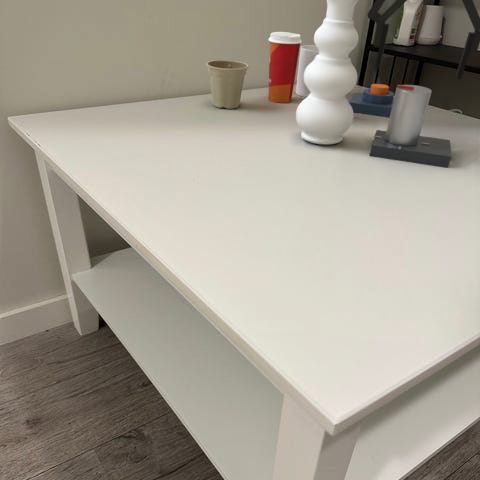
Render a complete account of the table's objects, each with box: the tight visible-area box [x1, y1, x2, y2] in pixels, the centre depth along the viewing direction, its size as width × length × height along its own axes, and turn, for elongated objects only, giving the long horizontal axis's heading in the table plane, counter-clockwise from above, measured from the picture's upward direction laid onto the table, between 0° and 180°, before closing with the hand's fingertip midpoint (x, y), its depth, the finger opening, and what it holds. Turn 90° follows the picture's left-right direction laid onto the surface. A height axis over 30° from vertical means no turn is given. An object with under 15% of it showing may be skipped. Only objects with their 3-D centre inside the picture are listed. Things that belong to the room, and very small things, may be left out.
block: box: [348, 88, 395, 119], centre depth 113 cm, size 12×10×4 cm
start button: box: [370, 83, 390, 95], centre depth 111 cm, size 4×4×2 cm
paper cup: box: [267, 31, 303, 104], centre depth 113 cm, size 8×8×14 cm
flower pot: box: [205, 59, 250, 110], centre depth 108 cm, size 9×9×9 cm
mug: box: [295, 44, 319, 98], centre depth 120 cm, size 12×8×10 cm, turn 86°
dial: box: [385, 84, 433, 146], centre depth 87 cm, size 6×6×9 cm
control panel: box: [369, 129, 453, 168], centre depth 90 cm, size 14×10×2 cm
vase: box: [295, 0, 360, 146], centre depth 87 cm, size 11×11×25 cm
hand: (417, 72), depth 83 cm, fingers open, 13 cm apart
